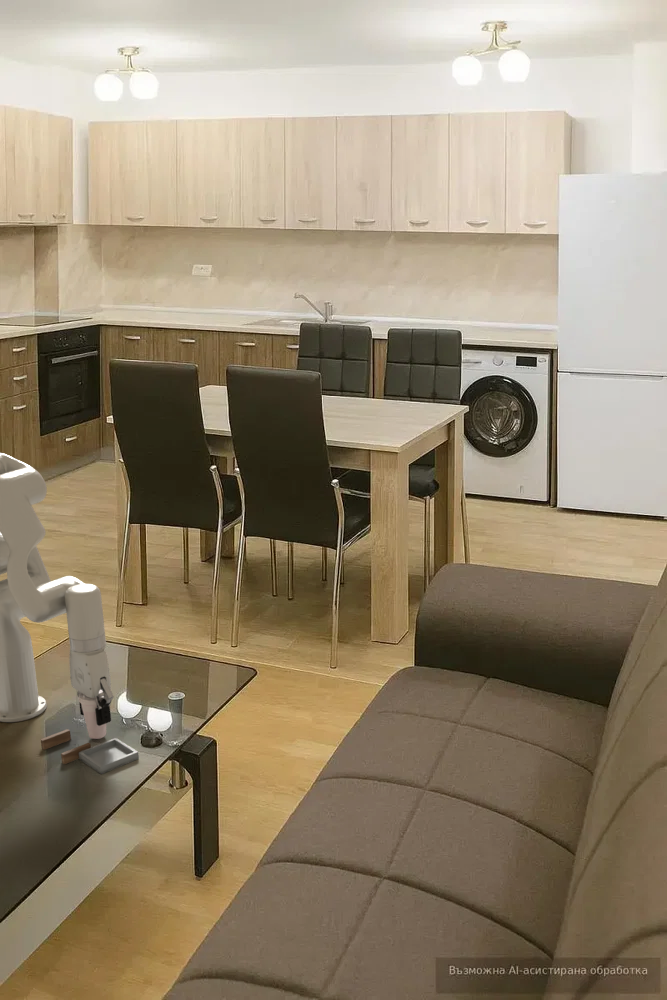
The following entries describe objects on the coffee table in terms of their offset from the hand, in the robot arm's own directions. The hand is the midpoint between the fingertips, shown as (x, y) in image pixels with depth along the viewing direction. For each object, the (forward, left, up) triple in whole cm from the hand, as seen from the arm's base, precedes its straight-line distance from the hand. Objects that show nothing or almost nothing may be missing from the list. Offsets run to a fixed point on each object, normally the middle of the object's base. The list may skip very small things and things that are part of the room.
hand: (95, 717), depth 240 cm
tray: (+10, -3, -5) cm, 12 cm away
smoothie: (0, 0, -4) cm, 4 cm away
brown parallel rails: (0, -8, -5) cm, 9 cm away
